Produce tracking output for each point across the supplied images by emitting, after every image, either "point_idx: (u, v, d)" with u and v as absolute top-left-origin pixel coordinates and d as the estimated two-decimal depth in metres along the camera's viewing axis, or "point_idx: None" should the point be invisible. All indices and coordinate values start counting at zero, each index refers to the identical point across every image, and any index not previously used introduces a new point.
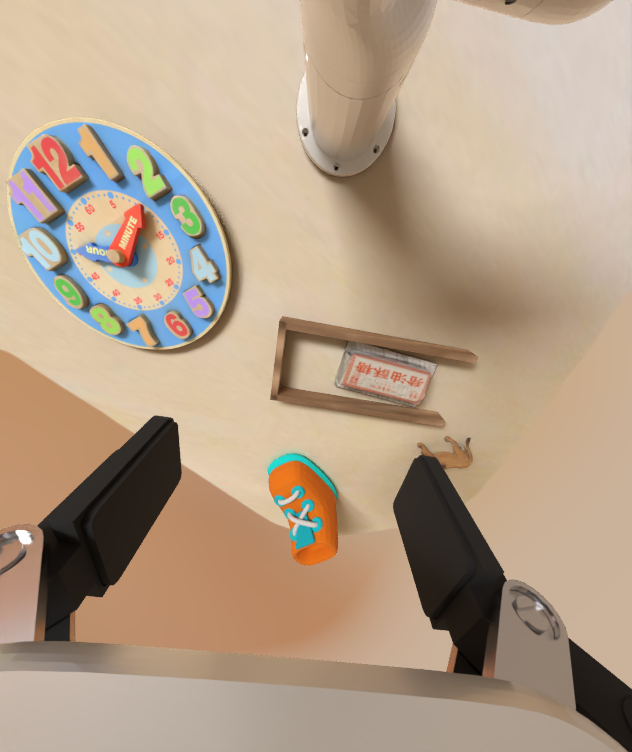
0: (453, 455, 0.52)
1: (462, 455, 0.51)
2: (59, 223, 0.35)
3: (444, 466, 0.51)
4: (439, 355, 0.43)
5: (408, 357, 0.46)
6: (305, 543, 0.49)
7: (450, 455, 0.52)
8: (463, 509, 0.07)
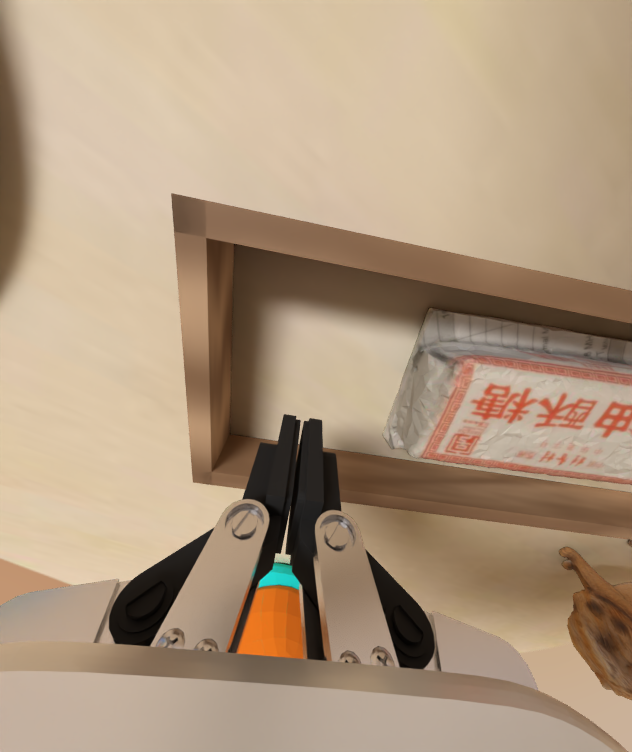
0: None
1: None
2: None
3: None
4: None
5: (627, 345, 0.14)
6: None
7: None
8: (318, 458, 0.08)
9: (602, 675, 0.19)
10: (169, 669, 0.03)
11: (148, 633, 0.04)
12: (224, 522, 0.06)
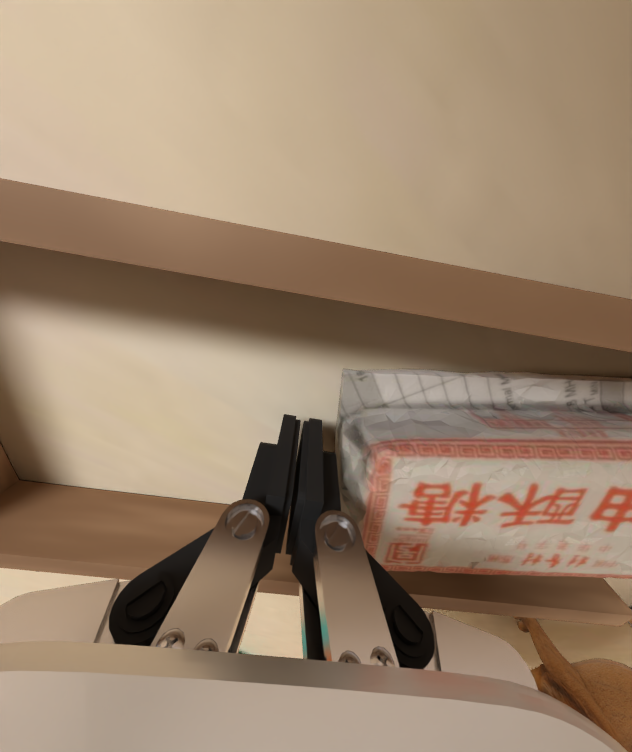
0: None
1: None
2: None
3: None
4: None
5: (627, 386, 0.10)
6: None
7: None
8: (318, 458, 0.08)
9: None
10: (169, 669, 0.03)
11: (148, 633, 0.04)
12: (224, 522, 0.06)
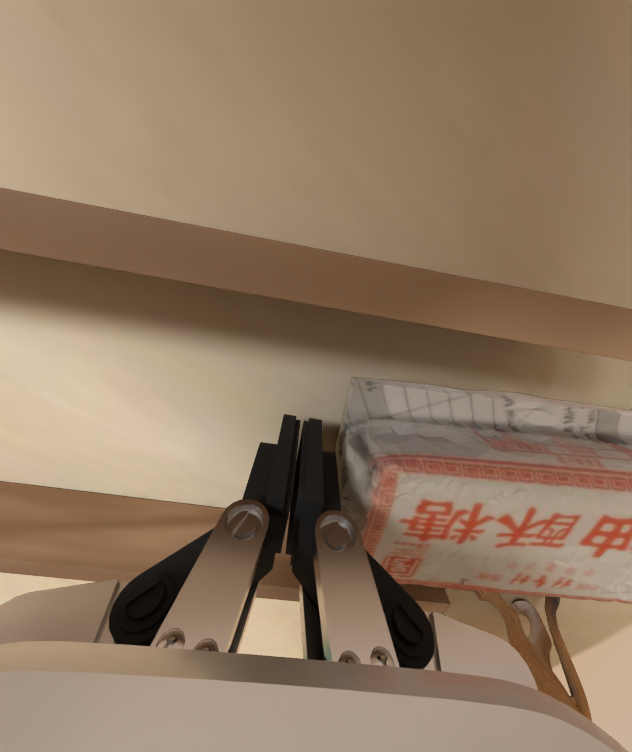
0: None
1: None
2: None
3: None
4: (408, 309, 0.06)
5: (621, 418, 0.11)
6: None
7: None
8: (318, 458, 0.08)
9: None
10: (169, 669, 0.03)
11: (148, 633, 0.04)
12: (224, 522, 0.06)
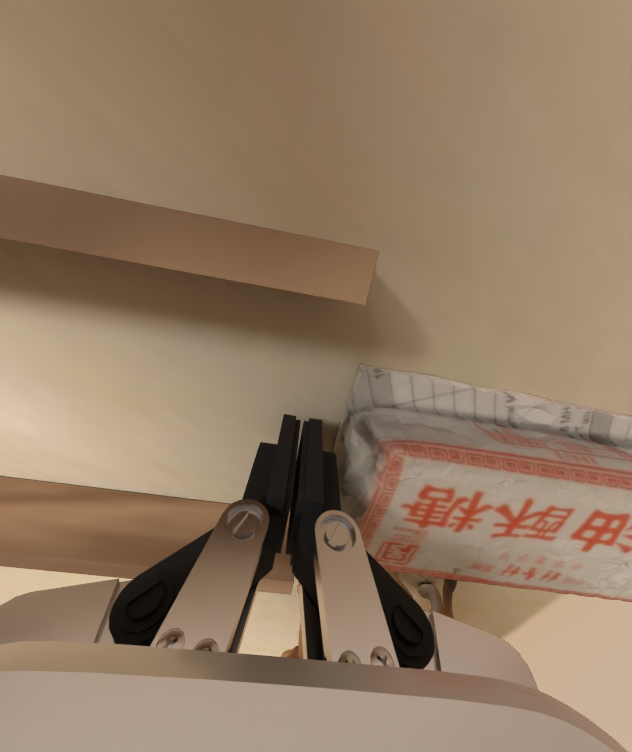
0: None
1: None
2: None
3: None
4: (74, 238, 0.05)
5: (614, 420, 0.11)
6: None
7: None
8: (318, 458, 0.08)
9: None
10: (169, 669, 0.03)
11: (148, 633, 0.04)
12: (224, 522, 0.06)
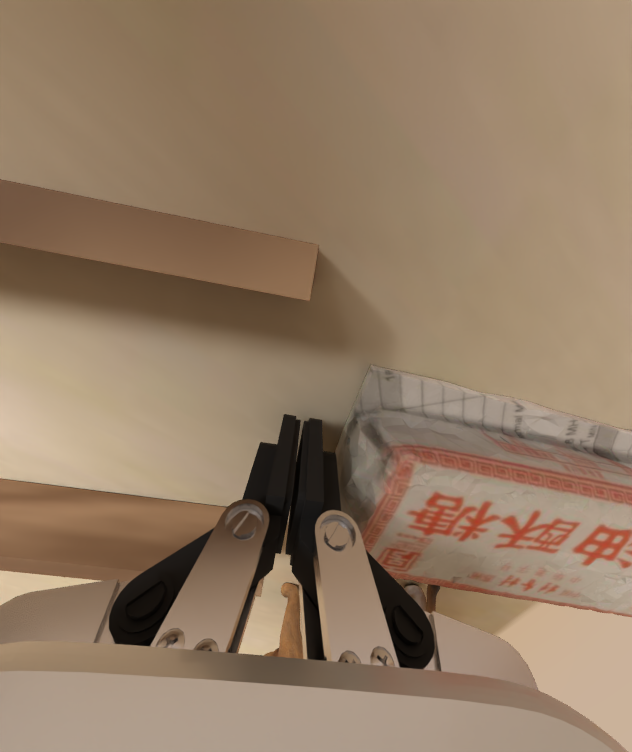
0: None
1: None
2: None
3: None
4: (4, 229, 0.05)
5: (619, 435, 0.11)
6: None
7: None
8: (319, 458, 0.08)
9: None
10: (169, 669, 0.03)
11: (148, 633, 0.04)
12: (224, 522, 0.06)
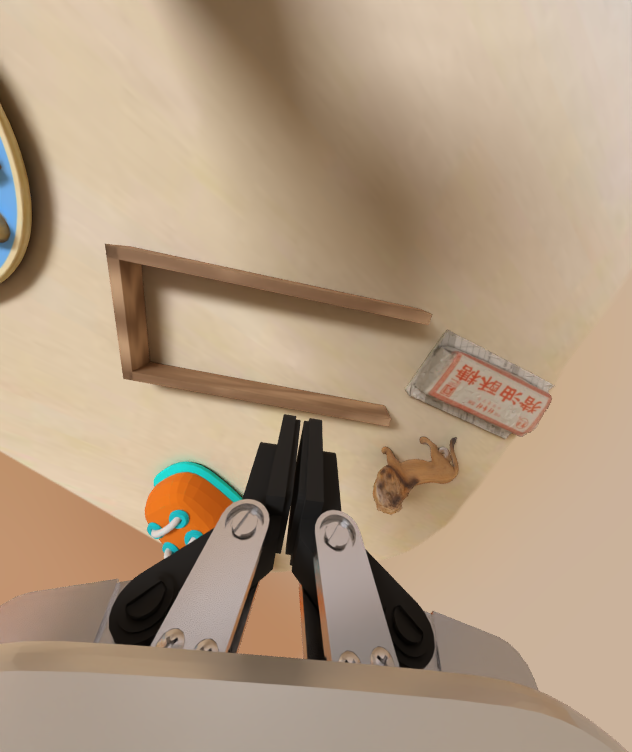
0: (429, 464, 0.35)
1: (442, 464, 0.34)
2: None
3: (416, 481, 0.34)
4: (371, 310, 0.27)
5: (519, 369, 0.33)
6: None
7: (425, 464, 0.35)
8: (318, 458, 0.08)
9: (377, 503, 0.34)
10: (169, 669, 0.03)
11: (148, 633, 0.04)
12: (224, 522, 0.06)
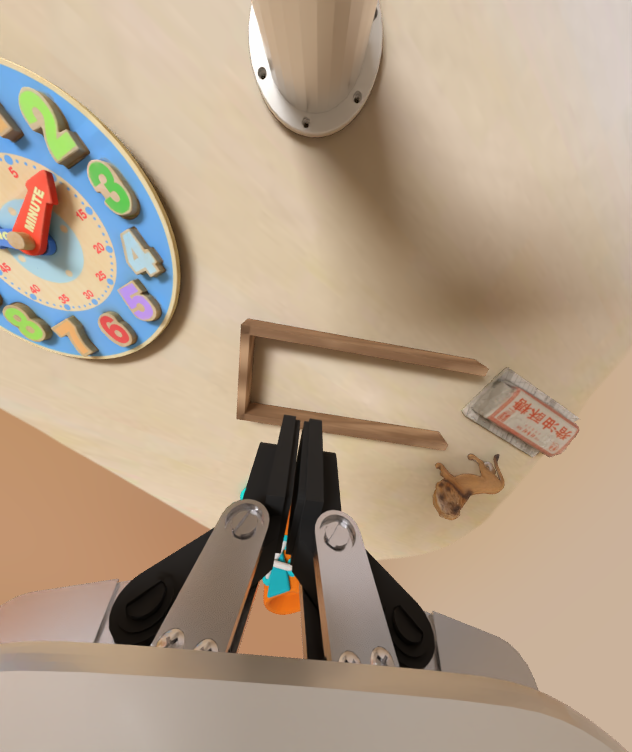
0: (480, 478, 0.43)
1: (491, 478, 0.42)
2: None
3: (470, 493, 0.42)
4: (441, 366, 0.35)
5: (556, 403, 0.41)
6: (278, 591, 0.41)
7: (476, 478, 0.43)
8: (318, 458, 0.08)
9: (439, 511, 0.42)
10: (169, 669, 0.03)
11: (148, 633, 0.04)
12: (224, 522, 0.06)
